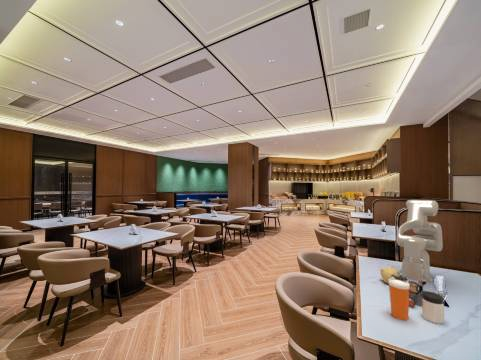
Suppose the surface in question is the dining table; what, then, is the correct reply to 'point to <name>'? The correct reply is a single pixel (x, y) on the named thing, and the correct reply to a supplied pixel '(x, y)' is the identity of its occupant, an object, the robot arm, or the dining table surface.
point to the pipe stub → (413, 287)
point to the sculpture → (388, 273)
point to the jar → (432, 307)
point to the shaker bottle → (399, 296)
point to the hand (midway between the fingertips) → (412, 289)
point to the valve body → (415, 299)
